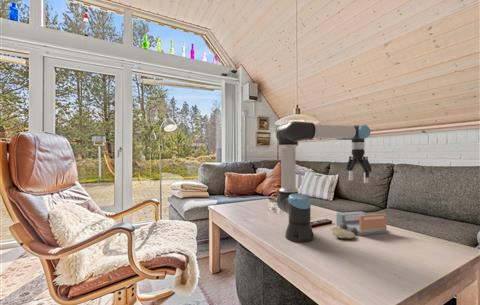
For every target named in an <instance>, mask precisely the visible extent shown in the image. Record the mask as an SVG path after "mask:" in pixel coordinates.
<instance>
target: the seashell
mask: <svg viewBox="0 0 480 305" xmlns="http://www.w3.org/2000/svg"><path fill="white" fill-rule="evenodd" d="M331 230H332V235H333V236H336V237H337V238H338V239H339V238H340V239H354V238H356V235H355V234H354V233H353V232H350V231H348V230H345V229H342V228H340V227H338V226H336V227H333V228H331Z"/></svg>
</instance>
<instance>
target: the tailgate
mask: <svg viewBox="0 0 480 305" xmlns="http://www.w3.org/2000/svg"><path fill="white" fill-rule="evenodd" d="M381 228H387V213H386V212H385V213H373V214H367V215H359V230H370V229H381Z"/></svg>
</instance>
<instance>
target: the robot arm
mask: <svg viewBox="0 0 480 305" xmlns="http://www.w3.org/2000/svg"><path fill="white" fill-rule="evenodd" d="M370 136H371V128H370V127H369V126H368V125H366V124H365V125H364V124H363V125H362V124H357V125H356V124H355V125H341V124H340V125H339V124H315V123H314V122H310V121H309V122H308V121H295V120H293V121H289V122H286V123H283V124H281V125H280V126H279V127H277V129H276V131H275V138H276V140H277V142H278V147H279V148H280V163H281V166H280V167H281V168H280V174H281V175H280V178H281V179H280V180H281V182H280V184H281V186H280V188H279V189H278V195H277V196H276V206H277V207H278V208H279V210H281V211H282V212H285V213H286V214H287V215H288V224H287V227H286V231H285V239H286V240H287V241H290V242H292V243H297V244H298V243H300V244H302V243H303V244H304V243H312V242H313V241H314V240H315V235H314V230H313V228H312V225H311V224H312V223H311V205H312V203H311V197H309V196H308V195H306V194H305V193H299V189H297V187H296V184H297V183H296V181H297V180H296V178H297V177H296V176H297V175H296V174H297V173H296V172H297V171H296V168H297V167H296V148H297V147H298V146H299V142H301V141H302V142H303V141H308V140H313V139H336V140H338V141H339V140H340V141H344V140H345V141H351V155H352V156H350V155H349V157H348V162H347V164H346V167H345V170H347V171H348V181H354V170H353V169H354V168H355V166H356V165H357V164H359V165H360V166H361V168H362V169H363V171H364V172H363V184H369V178H370V173H371V172H373V170H372V167H371V165H370V163H369V157H368V156H364V155H365V142H366V141H365V139H366V138H369V137H370Z"/></svg>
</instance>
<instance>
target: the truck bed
mask: <svg viewBox="0 0 480 305" xmlns="http://www.w3.org/2000/svg"><path fill="white" fill-rule="evenodd" d="M359 215H368V214H367V212H364V211H349V212H336V227H337V228H342V229H345V230H348V231H350V232H353V233H354V234H355V236H367V235H368V236H369V235H376V234H377V235H378V234H382V233H383V234H384V233H386V232H387V227H386V228H381V229H370V230H359Z"/></svg>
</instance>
